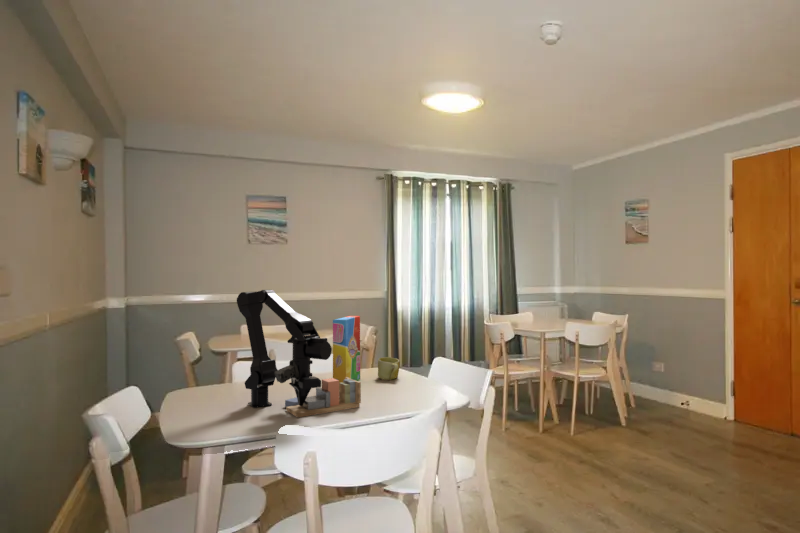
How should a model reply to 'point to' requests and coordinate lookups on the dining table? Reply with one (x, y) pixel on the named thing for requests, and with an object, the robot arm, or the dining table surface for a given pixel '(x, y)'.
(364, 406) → the dining table surface
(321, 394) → the bookend
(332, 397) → the salmon orange block
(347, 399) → the wooden toy block set
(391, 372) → the mug
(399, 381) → the dining table surface
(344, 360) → the game box
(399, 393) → the dining table surface
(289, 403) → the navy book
